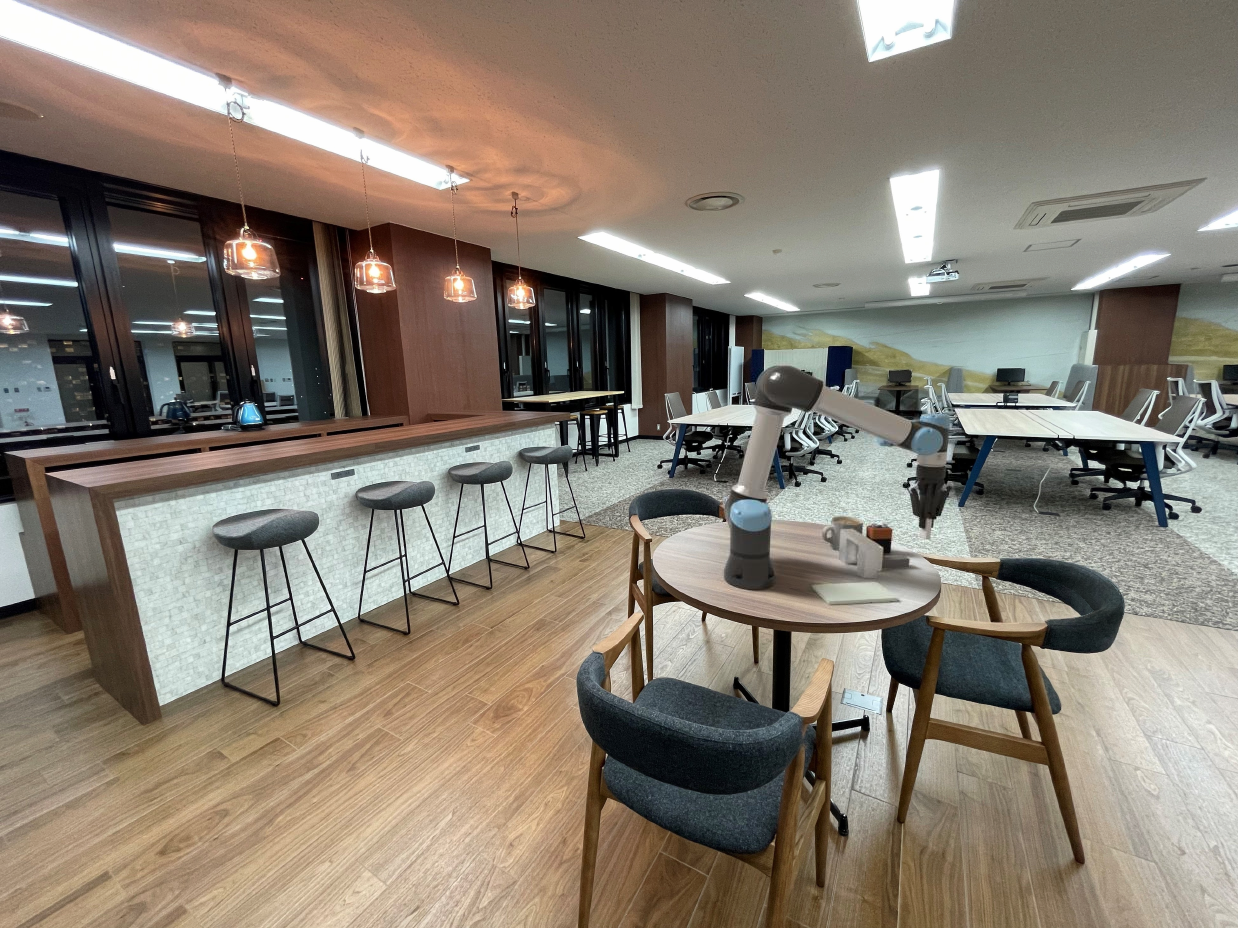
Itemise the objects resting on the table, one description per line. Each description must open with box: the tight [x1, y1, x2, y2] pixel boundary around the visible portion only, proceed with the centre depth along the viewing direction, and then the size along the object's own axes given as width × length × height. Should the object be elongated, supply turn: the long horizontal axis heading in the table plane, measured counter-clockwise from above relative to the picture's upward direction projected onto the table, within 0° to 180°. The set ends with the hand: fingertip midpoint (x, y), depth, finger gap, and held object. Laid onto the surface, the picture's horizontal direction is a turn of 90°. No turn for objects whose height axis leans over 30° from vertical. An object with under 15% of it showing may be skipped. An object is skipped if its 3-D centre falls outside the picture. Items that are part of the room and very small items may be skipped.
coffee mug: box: [821, 515, 864, 552], centre depth 166 cm, size 13×10×10 cm
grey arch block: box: [838, 529, 880, 580], centre depth 148 cm, size 4×15×10 cm, turn 3°
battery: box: [865, 523, 893, 555], centre depth 161 cm, size 4×7×10 cm, turn 89°
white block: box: [877, 546, 911, 572], centre depth 149 cm, size 14×5×8 cm, turn 93°
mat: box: [811, 581, 899, 605], centre depth 132 cm, size 19×10×1 cm, turn 93°
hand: (925, 537), depth 148 cm, fingers closed
